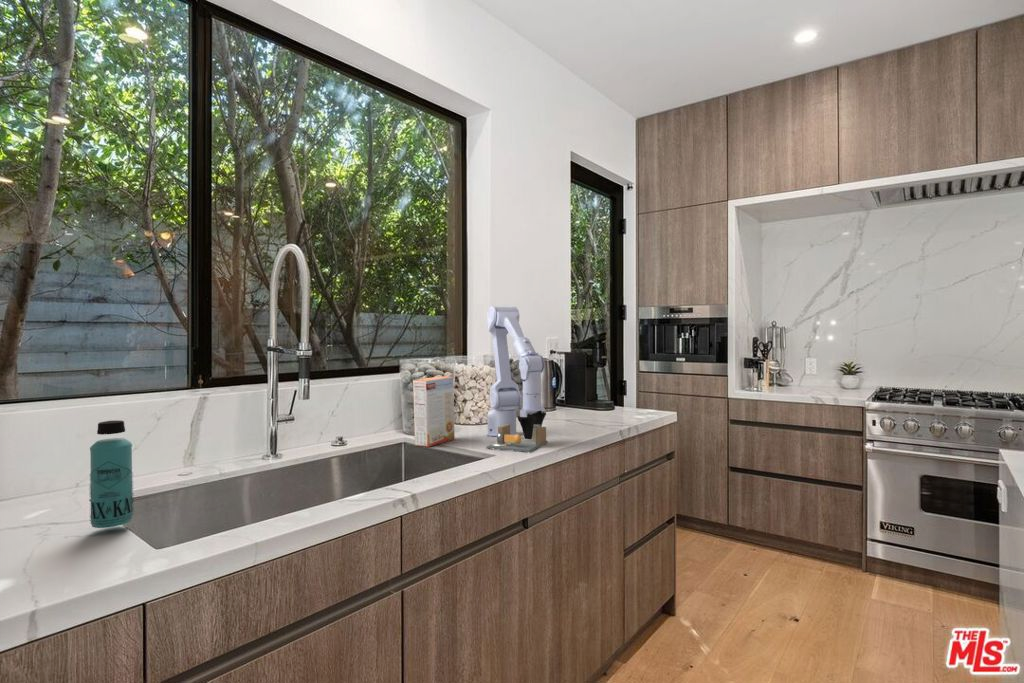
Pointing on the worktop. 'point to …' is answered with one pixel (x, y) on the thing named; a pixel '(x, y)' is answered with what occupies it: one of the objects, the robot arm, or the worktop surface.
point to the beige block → (534, 432)
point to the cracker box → (433, 410)
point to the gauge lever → (512, 438)
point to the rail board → (522, 440)
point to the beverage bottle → (111, 478)
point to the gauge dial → (500, 441)
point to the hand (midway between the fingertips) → (532, 436)
